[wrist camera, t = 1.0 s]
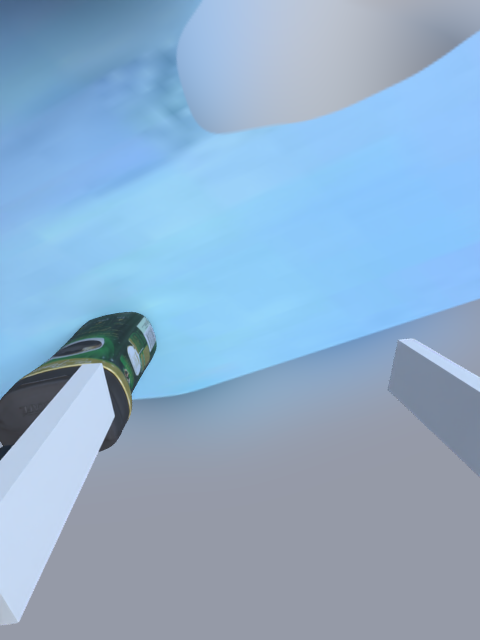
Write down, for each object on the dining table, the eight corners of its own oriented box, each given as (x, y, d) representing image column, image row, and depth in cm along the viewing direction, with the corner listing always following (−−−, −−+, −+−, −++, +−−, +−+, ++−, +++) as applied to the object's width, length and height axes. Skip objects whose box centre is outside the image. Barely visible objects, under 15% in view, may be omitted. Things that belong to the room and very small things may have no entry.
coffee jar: (98, 369, 39) (9, 487, 21) (77, 319, 36) (-45, 408, 19) (164, 355, 39) (130, 460, 22) (148, 305, 36) (94, 379, 19)
